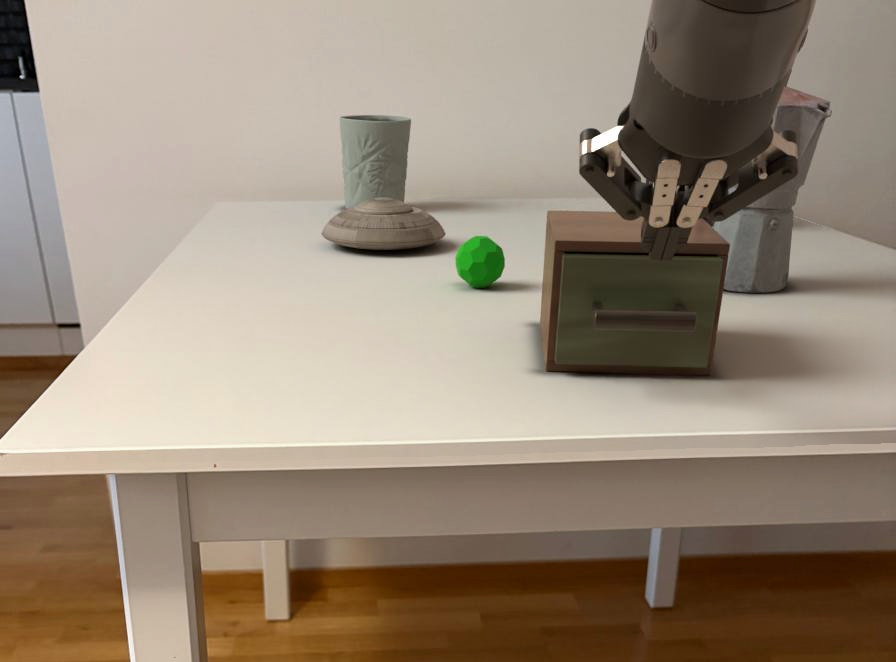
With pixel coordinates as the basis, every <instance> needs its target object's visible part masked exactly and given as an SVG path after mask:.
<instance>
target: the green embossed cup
mask: <svg viewBox="0 0 896 662" xmlns="http://www.w3.org/2000/svg"><path fill="white" fill-rule="evenodd" d="M338 121H339V130H340V132H339V133H340V140H341V155H342V159H341V166H342V176H343V183H344V185H343V192H344V206H345V209H347V208H350V207H356V206H357V205H359V204H361V203H362V202H365V201H367V200H370V199H374V198H380V197H386V198H392V199H396V200H399V201H402V202H404V203H405V197H406V181H407V173H408V172H407V171H408V170H407V169H408V163H409V162H408V153H409V145H410V139H411V138H410V137H411V126H412V119H411V118H410V117H405V116H398V115H384V114H383V115H381V114H375V115H374V114H356V115H355V114H353V115H351V114H350V115H342V116H339V120H338Z"/></svg>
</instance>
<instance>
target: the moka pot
mask: <svg viewBox="0 0 896 662" xmlns="http://www.w3.org/2000/svg"><path fill="white" fill-rule="evenodd" d="M792 72H793V69H791V71H790V74H789V77H788V79H787V82H786V84H785V87H784V90H783V92H782V95H781V97H780V100H779V102H778V105H777V108H776V110H775V113H774V115H773V122H772V125H771V127H772V129H773V131H775V132H776V133H780V132H782V131H786V130H791V131H794V132H795V133H796V135H797V156H798V174H797V176H796V177H794V178H793V179H791V180H790V181H788V182H786V183H785V184H783V185H781V186H780V187H778V188H776V189H775V190H773V191H772V192H770V193H768V194H767V195H765V196H763V197H762V198H760V199H758V200H757V201H755V202H753V203H752V204H750V205H748V206H747V207H745V208H743V209H742V210H740V211H739V212H737V213H735V214H734V215H732V216H730V217H729V218H727V219H725V220H723V221H720V222H714V223H713V227H712V228H713V229H714V230H715V231H717V232H718V233H719V234H720V235H721V236H722V237H723V238H724V239H725V240H726V241H727V242H728V243H729V244H730V249H729V254H728V262H727V269H726V276H725V282H724V289H723V291H729V292H738V293H746V294H765V293H766V294H767V293H768V294H769V293H776V292H780V291H782V290H783V289H785V288H786V287H787V285H788V283H789V282H788V281H789V275H790V262H791V248H792V239H793V238H792V236H793V227H794V216H795V215H794V214H795V212H794V211H793V207H794V206H795V205H796V203H797V199H798V194H799V189H801V187H803V186H804V185H805V182H806V179H807V176H808V173H809V171H810V167H811V164H812V161H813V158H814V155H815V152H816V148H817V146H818V142H819V139H820V137H821V134H822V131H823V128H824V126H825V122H826V119H828V118H831V116H832V113H833V111H832V109H831V108H830V107H831V106H830V105H831V102H830V101H829V100H827V99H823V98H822V97H818V96H815V95H812V94H810V93H806V92H803V91H800V90H798V89H795V88H792V87H789V86H787V85H788V83H789V80H790V77H791V74H792ZM737 187H738V184H736V185H735V186H733V187H732V188H730V189H729V194H730V193H732V192H733V191H735V190H736V189H737Z"/></svg>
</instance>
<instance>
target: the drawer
mask: <svg viewBox="0 0 896 662" xmlns="http://www.w3.org/2000/svg"><path fill="white" fill-rule="evenodd" d="M722 263H723V260H722V259H721V258H720V257H706V255H694V254H674V256H673V259H672V260H649V254H643V253H593V252H565V254H563V255H562V266H561V279H560V293H559V306H558V320H557V333H556V347H555V364H579V365H617V366H656V367H694V368H707V364H708V357H709V350H710V344H711V337H712V330H713V323H714V317H715V310H716V303H717V296H718V290H719V283H720V276H721V270H722Z"/></svg>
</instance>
